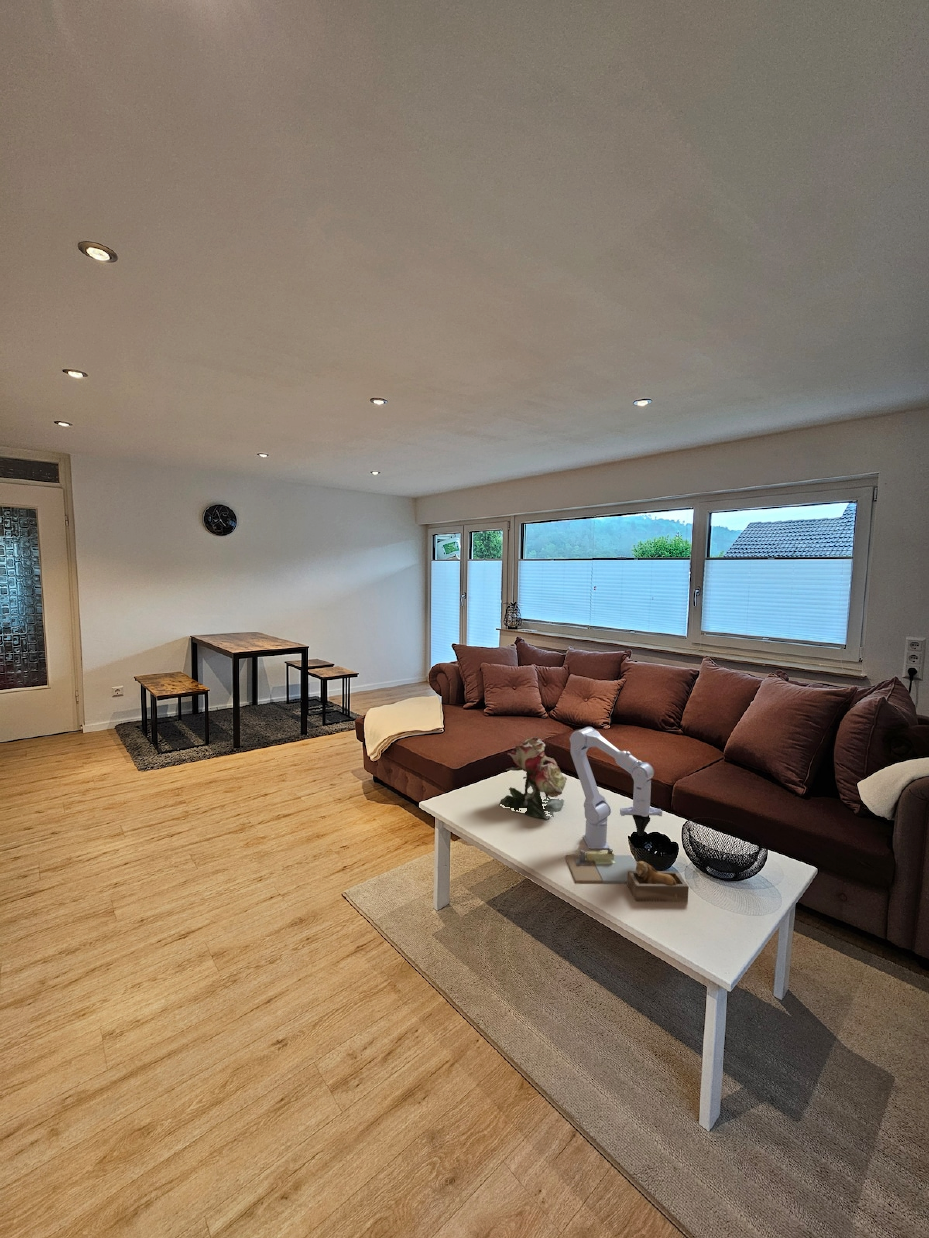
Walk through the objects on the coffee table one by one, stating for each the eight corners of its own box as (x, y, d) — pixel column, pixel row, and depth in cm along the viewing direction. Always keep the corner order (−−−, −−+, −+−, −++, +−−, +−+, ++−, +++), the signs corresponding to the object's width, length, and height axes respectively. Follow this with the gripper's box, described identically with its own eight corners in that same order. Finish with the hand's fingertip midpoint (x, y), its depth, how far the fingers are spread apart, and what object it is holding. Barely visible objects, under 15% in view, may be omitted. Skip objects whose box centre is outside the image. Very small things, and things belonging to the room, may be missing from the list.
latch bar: (587, 860, 181) (587, 851, 180) (585, 857, 183) (586, 848, 182) (613, 860, 181) (614, 851, 181) (612, 857, 183) (612, 848, 183)
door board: (565, 856, 186) (565, 844, 186) (630, 857, 187) (631, 845, 186) (575, 882, 170) (576, 869, 170) (647, 883, 171) (647, 870, 170)
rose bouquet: (558, 824, 211) (560, 753, 209) (494, 807, 225) (496, 741, 223) (576, 801, 234) (579, 737, 231) (517, 787, 248) (519, 727, 246)
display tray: (627, 885, 169) (627, 870, 169) (676, 885, 169) (677, 871, 169) (636, 901, 161) (636, 885, 160) (687, 901, 161) (688, 886, 161)
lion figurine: (633, 890, 166) (635, 864, 165) (635, 882, 171) (636, 856, 170) (683, 903, 160) (684, 875, 159) (683, 894, 165) (684, 867, 164)
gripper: (625, 802, 178) (623, 839, 179) (666, 802, 178) (664, 840, 179) (618, 793, 185) (617, 830, 186) (658, 794, 186) (656, 830, 187)
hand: (640, 834), depth 183 cm, fingers closed
